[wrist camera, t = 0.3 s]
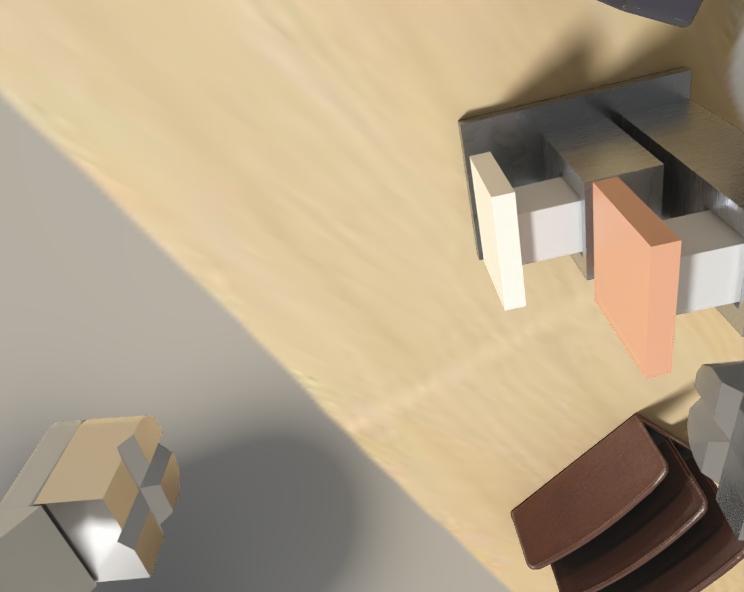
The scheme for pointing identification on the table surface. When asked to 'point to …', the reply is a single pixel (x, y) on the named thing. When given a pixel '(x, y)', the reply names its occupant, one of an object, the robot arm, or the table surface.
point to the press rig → (620, 153)
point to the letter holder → (629, 518)
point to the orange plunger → (658, 270)
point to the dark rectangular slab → (660, 9)
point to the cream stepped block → (522, 225)
